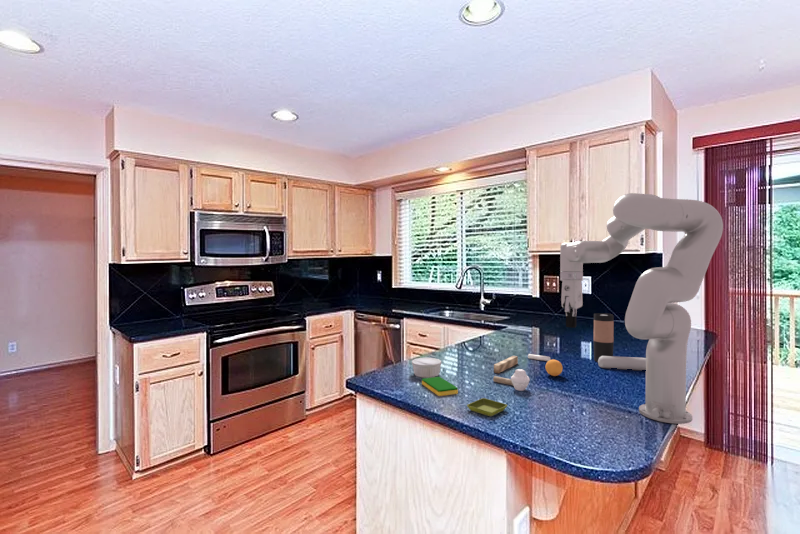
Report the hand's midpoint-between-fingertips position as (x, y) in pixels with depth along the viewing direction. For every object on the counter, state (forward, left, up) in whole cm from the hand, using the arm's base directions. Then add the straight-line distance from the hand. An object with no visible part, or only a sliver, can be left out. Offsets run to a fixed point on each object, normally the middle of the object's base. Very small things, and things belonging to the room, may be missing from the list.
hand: (571, 327), depth 149 cm
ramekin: (-27, +45, -20) cm, 56 cm away
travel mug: (+35, -3, -19) cm, 40 cm away
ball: (+1, +6, -16) cm, 17 cm away
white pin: (+21, +15, -18) cm, 31 cm away
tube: (+29, -15, -20) cm, 38 cm away
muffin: (-22, +10, -19) cm, 31 cm away
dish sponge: (-38, +32, -20) cm, 54 cm away
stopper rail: (0, +25, -19) cm, 31 cm away
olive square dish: (-46, +10, -20) cm, 51 cm away
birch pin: (-19, +12, -18) cm, 29 cm away
